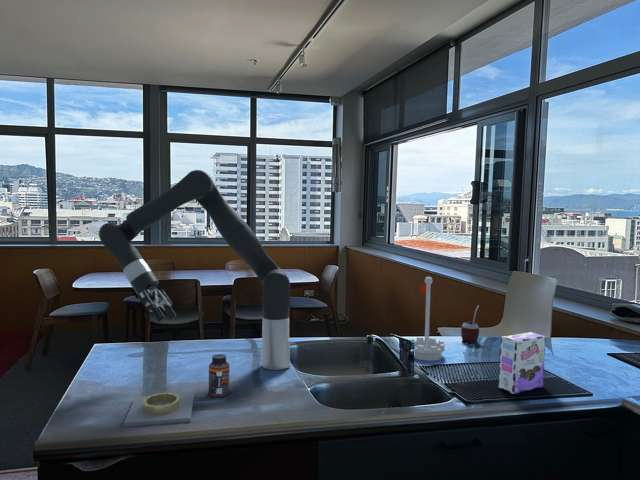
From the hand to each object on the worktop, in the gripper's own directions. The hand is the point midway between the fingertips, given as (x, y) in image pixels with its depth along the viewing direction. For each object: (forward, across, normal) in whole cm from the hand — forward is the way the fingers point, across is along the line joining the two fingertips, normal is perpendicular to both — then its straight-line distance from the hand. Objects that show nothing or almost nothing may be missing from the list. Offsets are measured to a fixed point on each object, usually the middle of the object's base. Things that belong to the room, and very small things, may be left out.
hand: (168, 319), depth 146 cm
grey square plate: (+23, -18, +8) cm, 30 cm away
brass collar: (+23, -18, +8) cm, 30 cm away
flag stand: (+62, +39, -59) cm, 94 cm away
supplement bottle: (+28, -5, -3) cm, 29 cm away
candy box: (+81, +12, -77) cm, 112 cm away
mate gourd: (+72, +60, -77) cm, 122 cm away
